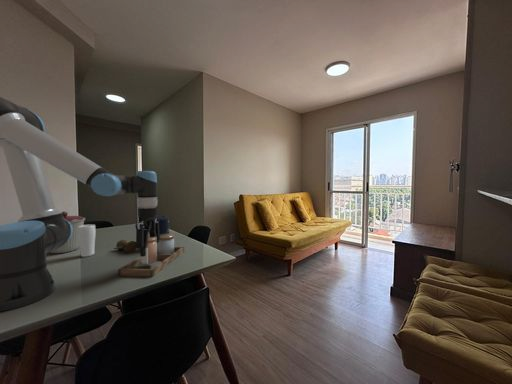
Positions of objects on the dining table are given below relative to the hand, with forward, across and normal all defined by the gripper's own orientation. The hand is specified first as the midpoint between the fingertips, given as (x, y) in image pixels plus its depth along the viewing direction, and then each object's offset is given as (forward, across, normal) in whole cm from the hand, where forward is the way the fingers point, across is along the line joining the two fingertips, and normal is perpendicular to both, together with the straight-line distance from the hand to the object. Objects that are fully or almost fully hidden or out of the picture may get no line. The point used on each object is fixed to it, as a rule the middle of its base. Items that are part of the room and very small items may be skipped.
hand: (149, 260), depth 88 cm
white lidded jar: (+3, +14, 0) cm, 14 cm away
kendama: (+3, +23, +23) cm, 33 cm away
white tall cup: (+3, +11, +39) cm, 41 cm away
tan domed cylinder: (0, 0, 0) cm, 0 cm away
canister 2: (+3, +27, +10) cm, 29 cm away
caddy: (+3, +6, 0) cm, 7 cm away
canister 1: (+3, +17, +58) cm, 61 cm away
